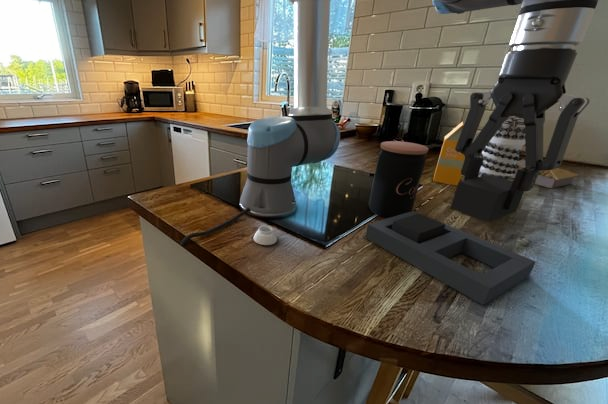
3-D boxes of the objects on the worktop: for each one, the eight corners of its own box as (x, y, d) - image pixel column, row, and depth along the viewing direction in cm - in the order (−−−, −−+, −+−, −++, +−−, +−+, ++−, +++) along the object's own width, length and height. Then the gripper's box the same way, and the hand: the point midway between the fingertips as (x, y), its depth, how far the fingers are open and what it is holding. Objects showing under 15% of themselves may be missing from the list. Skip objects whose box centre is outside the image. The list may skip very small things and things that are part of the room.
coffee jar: (392, 223, 74) (409, 152, 66) (359, 207, 82) (371, 143, 75) (419, 215, 78) (438, 148, 71) (385, 201, 87) (399, 139, 80)
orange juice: (458, 178, 108) (476, 122, 100) (458, 185, 101) (478, 125, 93) (433, 174, 111) (449, 120, 103) (432, 181, 105) (448, 123, 97)
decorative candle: (459, 202, 87) (488, 114, 77) (498, 210, 83) (535, 117, 73) (458, 212, 81) (489, 117, 71) (501, 222, 76) (541, 121, 66)
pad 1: (413, 254, 61) (419, 233, 59) (388, 241, 66) (393, 221, 64) (439, 244, 65) (445, 224, 63) (414, 232, 70) (419, 213, 68)
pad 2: (488, 222, 47) (499, 193, 45) (449, 208, 52) (458, 181, 50) (515, 212, 51) (527, 184, 49) (477, 199, 56) (486, 174, 54)
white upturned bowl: (278, 237, 66) (256, 233, 68) (279, 225, 65) (257, 221, 67) (273, 248, 62) (250, 244, 63) (274, 236, 61) (251, 232, 62)
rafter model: (451, 162, 129) (456, 148, 126) (473, 159, 134) (477, 146, 132) (553, 189, 99) (561, 171, 97) (575, 184, 105) (583, 167, 102)
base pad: (483, 305, 48) (490, 288, 46) (365, 237, 67) (367, 223, 66) (528, 277, 55) (536, 261, 53) (410, 223, 74) (413, 210, 73)
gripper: (456, 51, 48) (420, 186, 57) (636, 41, 32) (548, 228, 41) (481, 53, 51) (443, 181, 60) (655, 45, 36) (569, 218, 45)
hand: (486, 200), depth 51 cm, fingers closed on pad 2, 6 cm apart
